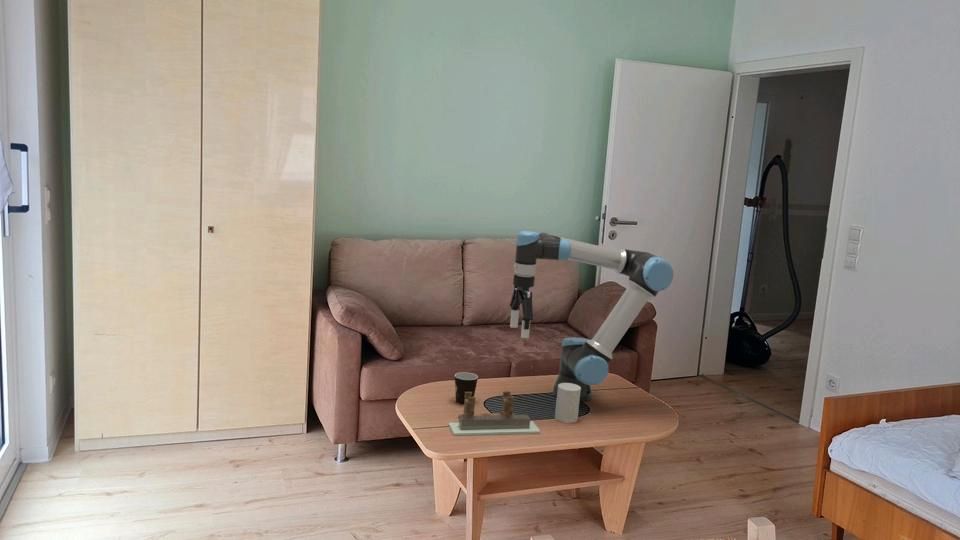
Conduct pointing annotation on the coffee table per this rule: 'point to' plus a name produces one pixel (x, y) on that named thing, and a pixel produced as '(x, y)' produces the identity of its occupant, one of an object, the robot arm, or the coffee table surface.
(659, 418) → the coffee table surface
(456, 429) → the mat
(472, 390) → the coffee mug
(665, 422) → the coffee table surface
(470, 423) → the rail
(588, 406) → the coffee table surface
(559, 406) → the light grey cylinder plug
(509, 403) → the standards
